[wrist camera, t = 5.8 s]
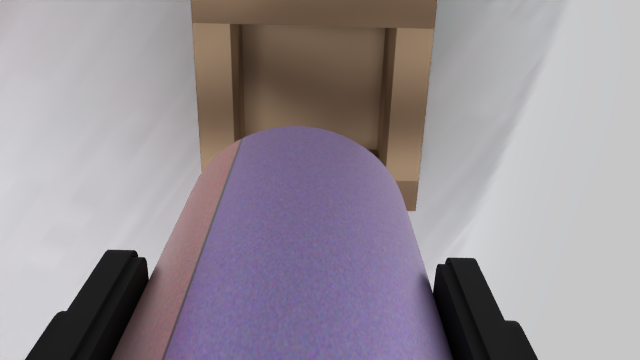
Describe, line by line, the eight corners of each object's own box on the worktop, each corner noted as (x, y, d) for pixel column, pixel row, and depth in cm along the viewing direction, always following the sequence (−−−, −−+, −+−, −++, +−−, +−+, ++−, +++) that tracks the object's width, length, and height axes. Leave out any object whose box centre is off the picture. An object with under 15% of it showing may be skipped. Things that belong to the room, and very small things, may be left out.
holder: (209, -26, 30) (189, -17, 25) (419, -21, 30) (438, -11, 25) (218, 169, 34) (203, 206, 30) (402, 173, 34) (415, 210, 30)
